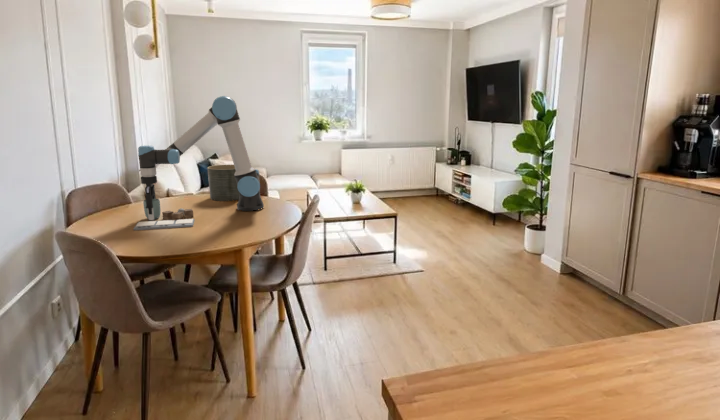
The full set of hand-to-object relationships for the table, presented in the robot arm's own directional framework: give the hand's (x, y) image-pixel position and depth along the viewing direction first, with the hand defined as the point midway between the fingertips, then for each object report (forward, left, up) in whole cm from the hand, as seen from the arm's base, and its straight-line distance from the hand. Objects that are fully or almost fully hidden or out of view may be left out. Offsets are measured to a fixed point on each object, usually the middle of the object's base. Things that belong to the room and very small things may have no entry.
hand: (152, 217), depth 242 cm
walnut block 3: (-18, +1, 0) cm, 18 cm away
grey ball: (-14, -3, 0) cm, 15 cm away
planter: (-38, -45, -1) cm, 59 cm away
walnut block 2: (-13, +7, 0) cm, 15 cm away
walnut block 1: (-8, +3, 0) cm, 9 cm away
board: (-8, +16, 0) cm, 18 cm away
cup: (0, 0, -1) cm, 1 cm away
